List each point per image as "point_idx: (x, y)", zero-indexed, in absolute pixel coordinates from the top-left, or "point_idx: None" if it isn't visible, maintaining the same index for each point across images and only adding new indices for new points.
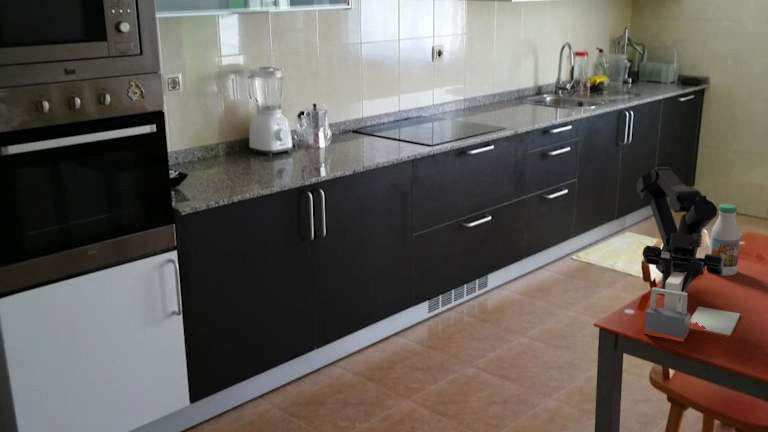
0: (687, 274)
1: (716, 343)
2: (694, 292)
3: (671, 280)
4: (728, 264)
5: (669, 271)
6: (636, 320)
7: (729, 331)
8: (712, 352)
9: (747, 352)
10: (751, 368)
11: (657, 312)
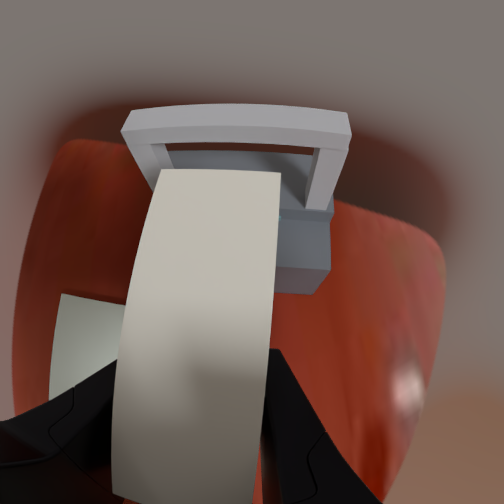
0: (73, 417)
1: (101, 236)
2: None
3: (231, 233)
4: None
5: (293, 469)
6: (369, 319)
7: (61, 316)
8: (119, 180)
9: (51, 216)
10: (67, 152)
11: (282, 162)
